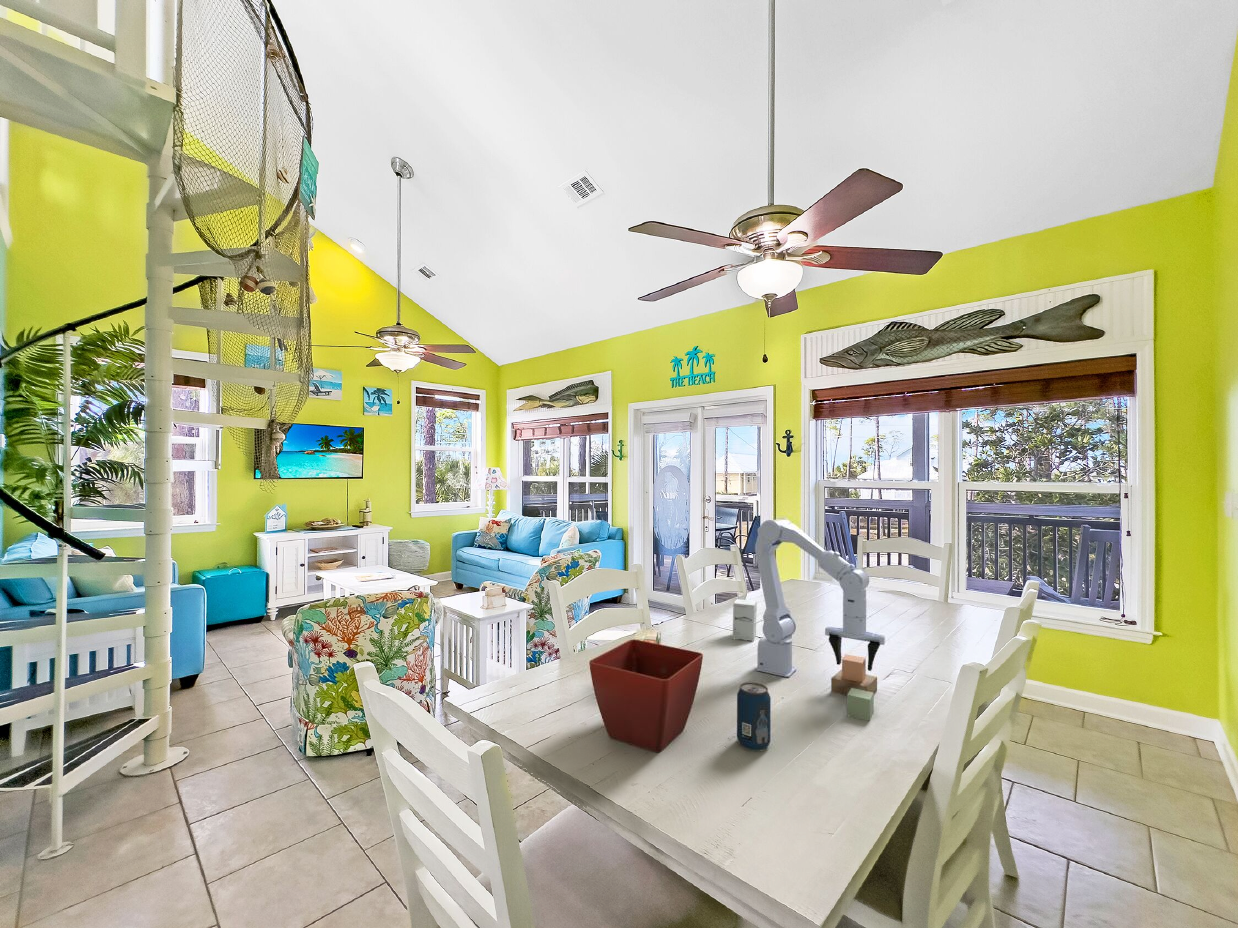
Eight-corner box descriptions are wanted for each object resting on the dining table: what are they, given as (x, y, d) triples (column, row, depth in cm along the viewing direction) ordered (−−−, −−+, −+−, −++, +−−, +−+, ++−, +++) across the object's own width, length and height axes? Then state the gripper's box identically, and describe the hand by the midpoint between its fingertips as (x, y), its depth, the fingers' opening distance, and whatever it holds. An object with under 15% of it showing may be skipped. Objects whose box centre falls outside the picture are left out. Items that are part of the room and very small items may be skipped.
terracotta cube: (842, 678, 144) (842, 659, 144) (845, 672, 148) (845, 654, 148) (862, 682, 141) (862, 663, 141) (865, 676, 145) (865, 657, 145)
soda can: (745, 733, 120) (746, 678, 120) (775, 743, 116) (776, 686, 116) (730, 745, 115) (731, 688, 115) (761, 756, 110) (762, 697, 111)
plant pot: (665, 766, 106) (666, 679, 107) (586, 740, 117) (586, 661, 117) (704, 728, 123) (704, 653, 123) (631, 707, 133) (632, 638, 133)
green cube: (847, 715, 130) (847, 694, 130) (851, 708, 134) (851, 687, 134) (870, 721, 127) (870, 699, 127) (873, 713, 131) (873, 692, 131)
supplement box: (732, 639, 188) (732, 602, 189) (735, 633, 195) (736, 598, 195) (753, 642, 186) (754, 605, 186) (756, 636, 192) (757, 600, 193)
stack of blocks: (640, 660, 166) (641, 620, 167) (661, 662, 165) (661, 621, 166) (630, 687, 145) (631, 641, 146) (653, 689, 144) (654, 643, 144)
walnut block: (831, 693, 144) (831, 678, 144) (842, 683, 151) (842, 668, 151) (867, 702, 138) (867, 686, 138) (877, 692, 145) (877, 676, 145)
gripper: (822, 614, 145) (822, 665, 145) (882, 623, 137) (881, 677, 137) (828, 608, 151) (828, 658, 151) (886, 617, 143) (886, 668, 143)
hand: (854, 666), depth 144 cm, fingers open, 7 cm apart
